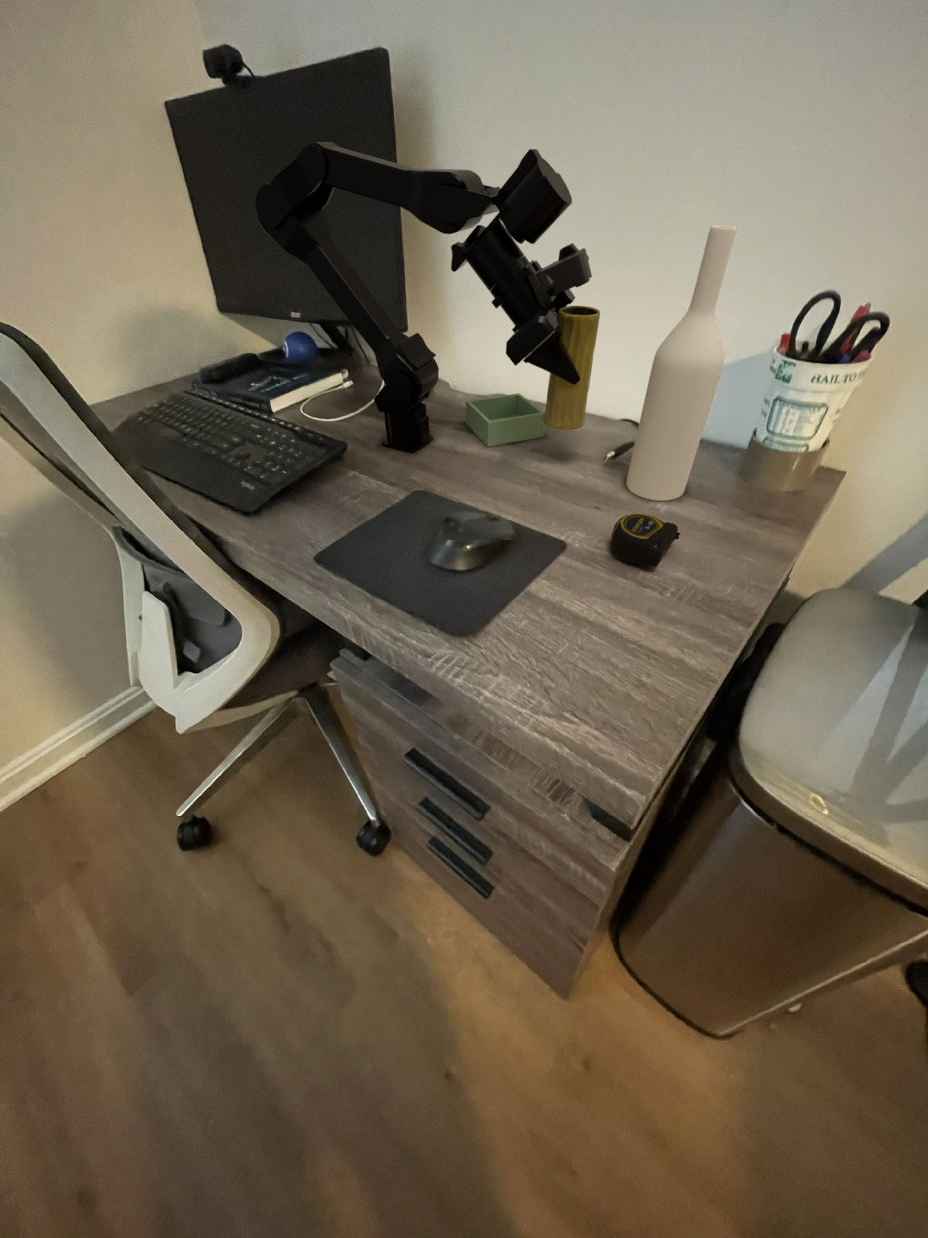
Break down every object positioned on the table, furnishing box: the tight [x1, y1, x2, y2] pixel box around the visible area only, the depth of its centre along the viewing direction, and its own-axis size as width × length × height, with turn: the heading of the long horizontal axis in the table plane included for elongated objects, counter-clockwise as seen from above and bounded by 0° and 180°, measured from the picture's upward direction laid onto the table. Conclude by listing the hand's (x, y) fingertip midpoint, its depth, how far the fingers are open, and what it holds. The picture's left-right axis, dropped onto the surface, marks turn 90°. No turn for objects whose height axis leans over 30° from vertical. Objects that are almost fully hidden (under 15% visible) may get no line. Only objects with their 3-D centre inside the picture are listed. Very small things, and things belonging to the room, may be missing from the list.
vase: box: [543, 305, 601, 431], centre depth 70 cm, size 6×6×14 cm
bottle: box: [625, 224, 738, 502], centre depth 64 cm, size 8×8×30 cm
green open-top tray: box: [465, 392, 546, 447], centre depth 88 cm, size 10×10×4 cm
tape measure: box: [610, 513, 682, 567], centre depth 61 cm, size 7×7×4 cm
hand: (580, 375), depth 70 cm, fingers closed on vase, 5 cm apart
